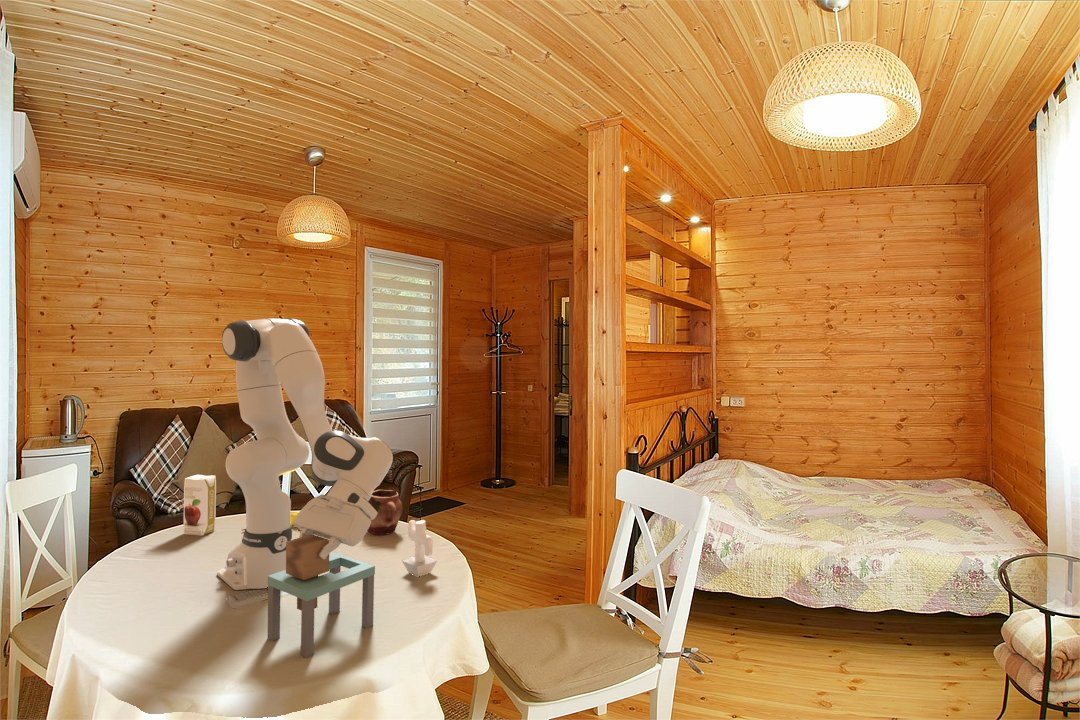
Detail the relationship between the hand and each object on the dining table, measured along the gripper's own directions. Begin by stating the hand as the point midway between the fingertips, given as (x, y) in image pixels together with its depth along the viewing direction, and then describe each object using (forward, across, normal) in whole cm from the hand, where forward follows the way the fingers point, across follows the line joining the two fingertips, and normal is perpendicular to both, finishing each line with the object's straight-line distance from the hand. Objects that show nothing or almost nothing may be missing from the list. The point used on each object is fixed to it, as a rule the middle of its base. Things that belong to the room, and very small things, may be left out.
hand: (309, 553), depth 130 cm
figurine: (-16, -7, +43) cm, 46 cm away
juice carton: (-3, -91, +29) cm, 96 cm away
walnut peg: (+9, 0, +8) cm, 12 cm away
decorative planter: (-29, -42, +56) cm, 76 cm away
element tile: (-24, -69, +52) cm, 89 cm away
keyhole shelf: (+11, 0, +16) cm, 19 cm away
